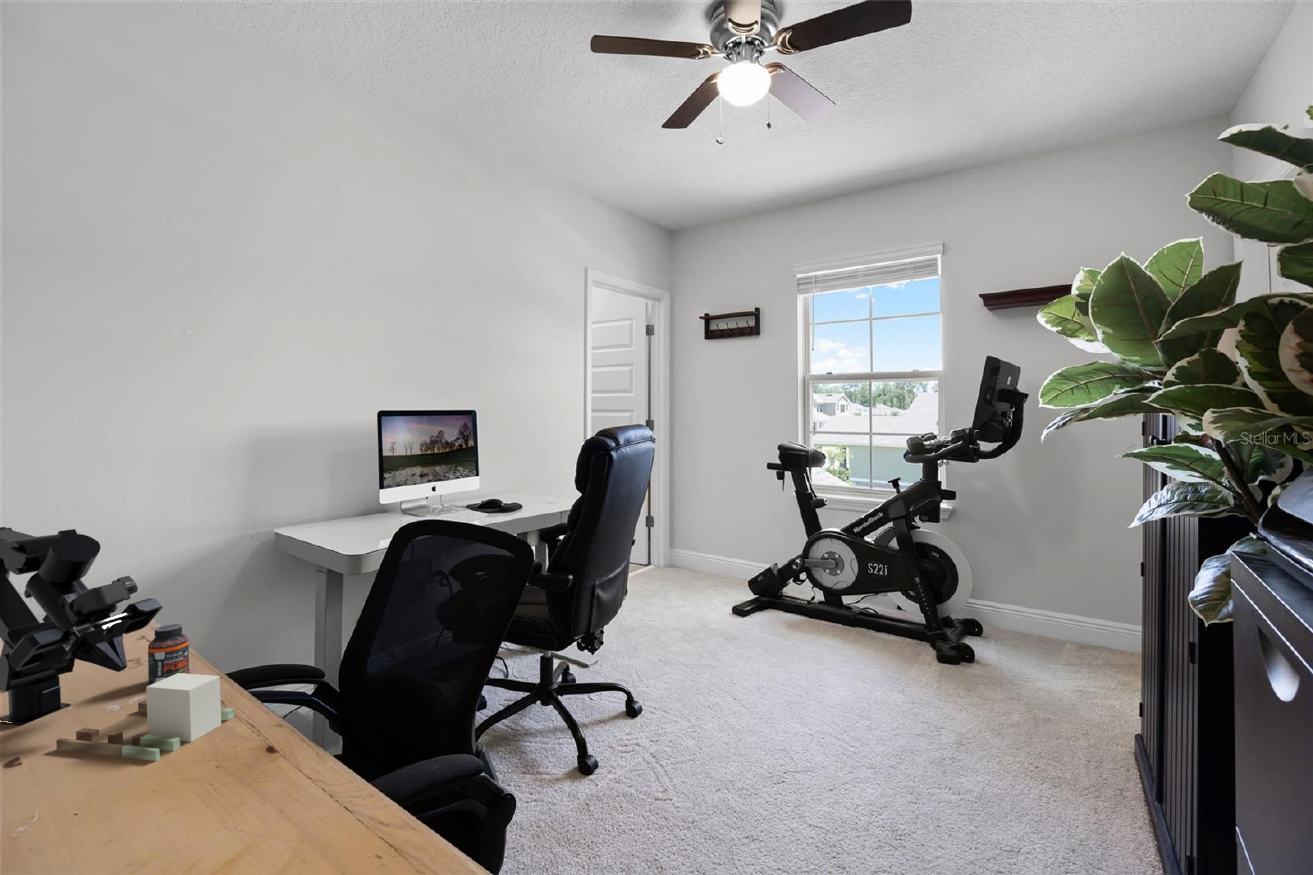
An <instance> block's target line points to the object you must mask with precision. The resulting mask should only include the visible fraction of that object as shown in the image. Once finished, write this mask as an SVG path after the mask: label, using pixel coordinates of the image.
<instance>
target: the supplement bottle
mask: <svg viewBox="0 0 1313 875" xmlns="http://www.w3.org/2000/svg"><path fill="white" fill-rule="evenodd" d="M182 632H183V625H182V624H180V623H174V624H173V623H172V624H166V625H165V624H164V625H162V626H158V627H156V628H154V638H153V640H150V642H149V643H148V646H147V659H148V661H147V663H148V664H147V667H148V668H147V671H148V672H147V673H148V678H147V679H148V686H149V685H152V684H154V683H156V682H159V681H161V680H163V679H166V678H168V677H170V676H173V675H175V674H177V673H185V674H190V646H189V641H190V640H189V637H188V636H187V635H186V634H183V633H182Z"/></svg>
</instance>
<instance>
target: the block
mask: <svg viewBox="0 0 1313 875" xmlns="http://www.w3.org/2000/svg"><path fill="white" fill-rule="evenodd" d="M145 689H146V690H145V691H146V701H147V723H148V734H149V735H158V736H168V737H178V738H180V741H186V742H190V743H192V742H194V741H196V740H198V739H199V738H201V737H203V736H205V735H206V734H208V733H210V732H212V731H213V730H216V729H217V728H219V727H221V726H222V725H221V707H222V706H221V702H222V701H221V676H220V675H209V674H208V675H207V674H195V673H194V674H193V673H189V674H185V673H177V674H175V675H173V676H170V677H168V678H166V679H163V680H161V681H159V682H156V683H154V684H152V685H149V684H148V686H146V688H145Z"/></svg>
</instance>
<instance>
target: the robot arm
mask: <svg viewBox="0 0 1313 875" xmlns="http://www.w3.org/2000/svg"><path fill="white" fill-rule="evenodd" d="M100 551H101V544H100V541H98V540H96V539H95V538H93V537H92V536H89V535H87V534H81V533H78V532H77V531H76V528H72V529H65V530H58V532H57V534H49V535H40V536H39V535H38V536H34V535H31V534H27V533H24V532H21V531H16V530H13V528H11V527H5V526H1V527H0V639H1V641H2V642H3V645H2V649H1V652H0V653H1V654H0V691H2V692H4V693H7V692H8V696H7V697H8V714H7V715H4V716H1V717H0V720H1V721H8V722H12V723H17V724H16V725H20V724H22V725H23V726H24V725H26V724H27V725H28V724H30V723H31V722H34V721H36V720H39V719H41V718H44V717H46V716H49V715H51V714H54V713H56V712H58V711H61V710H63V709H66V708H67V707H71V706H72V704H71V703H66V702H65V703H64V702H62V695H61V694H62V693H61V690H62V689H61V686H60V676H61V675H64V674H69V673H73V672H74V667H75V662H76V660H79V661H82V662H85V663H89V664H94V665H96V666H98V667H102V668H106V669H108V670H109V671H110V670H111V671H114V672H116V673H120V672H123V671H125V670H126V668H127V667H128V665H127V664H128V663H127V657H126V652H125V647H124V635H128V634H132V633H134V632H136V631H140V630H142V629H144V628H146V627H147V626H148V625H149V624H150V623H151V621H152V620H153V619H154V618H155V617H156V616H157V614H158V613H160V612H161V610H162V609H163V606H162V605H161V603H160V602H159V601H158V600H157V599H156V598H146V599H141V600H138V601H135V602H131V603H128V604H127V606H126V607H125V608H124V609H123V610H122V612H121V613H120V614H118V615H115V616H111V614H113V613H115V612H116V611H117V609H118V608H119V606H118V605H117V604H120V603H122V602H123V601H129V600H130V599H131V598H132V597H131V595H133V594H135V593H137V592H138V589H139V588H138V585H137V583H136V581H135V580H134V579H133V578H132V577H131V575H127V576H122V577H118V578H117V579H114V580H113V581H111V583H109V584H108V583H107V584H105V585H101V586H97V587H92V588H88V586H87V585H86V584H85V583H84V582H83V581H82V579H83V578H84V577H86V576H87V574H88V572H89V570H90V569H91V567H92V565H93V564H94V562H95V560H96V559H97V556H98V555H99V553H100ZM11 573H12V574H14V575H16V576H21V575H27V574H32V573H33V575H31V576H30V577H29V578H28V580H27V582H26V585H25V587H24V588H25V590H24V592H23V593H24V598H26V599H29V598H33V599H34V601H35V602H36V603H37V604H38V606H39V607H40V608H41V609H42V610H43V612H44V613H45V615H44V616H43V618H42V621H43V622H40V621H39V619H38V618H37V617H36V615H35V614H34V612H33V611H32V610H31V608H30V606H29V605H28V604H27V603H26V601H25V600H24V599H23V597H22V596H21V594H20V593H19V591H18V590H17V589H16V587H15V585H13V583H12V582H11V580H10V574H11Z"/></svg>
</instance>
